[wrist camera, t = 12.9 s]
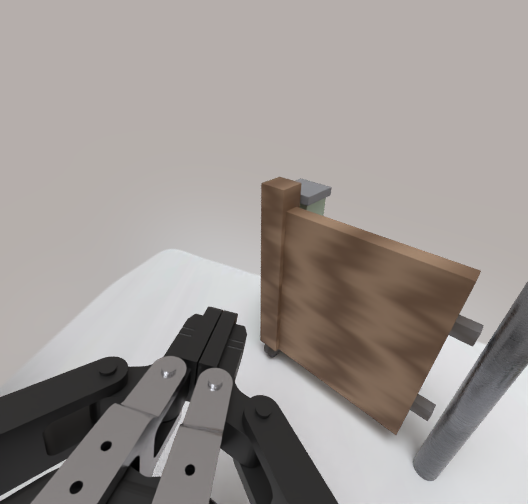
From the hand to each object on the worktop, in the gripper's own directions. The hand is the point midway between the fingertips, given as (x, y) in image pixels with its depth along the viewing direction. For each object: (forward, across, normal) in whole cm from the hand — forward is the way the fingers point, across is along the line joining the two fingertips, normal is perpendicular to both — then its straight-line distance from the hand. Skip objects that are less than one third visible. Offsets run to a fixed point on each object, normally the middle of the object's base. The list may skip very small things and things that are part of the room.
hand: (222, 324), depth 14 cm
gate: (+12, +11, -16) cm, 23 cm away
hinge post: (+6, +19, -16) cm, 26 cm away
